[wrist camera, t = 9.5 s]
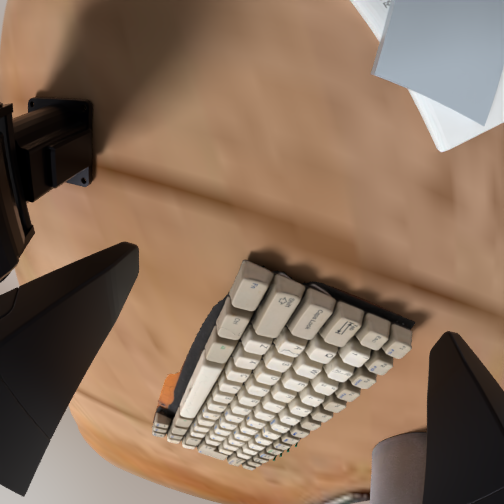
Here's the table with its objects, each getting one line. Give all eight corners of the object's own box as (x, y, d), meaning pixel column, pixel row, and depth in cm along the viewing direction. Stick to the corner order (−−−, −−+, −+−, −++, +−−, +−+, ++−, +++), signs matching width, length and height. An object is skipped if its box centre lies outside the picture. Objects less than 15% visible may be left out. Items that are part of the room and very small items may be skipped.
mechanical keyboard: (207, 227, 23) (191, 254, 20) (428, 317, 24) (436, 348, 21) (154, 420, 45) (146, 437, 42) (265, 457, 45) (262, 475, 43)
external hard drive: (433, 146, 17) (320, -33, 12) (527, 99, 13) (429, -74, 8) (442, 153, 15) (320, -41, 11) (540, 104, 11) (437, -82, 7)
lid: (370, 74, 14) (374, 74, 13) (408, -76, 8) (413, -83, 7) (475, 121, 14) (484, 126, 13) (510, -21, 8) (520, -23, 7)
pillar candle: (446, 442, 34) (450, 533, 22) (390, 462, 39) (386, 547, 27) (421, 424, 32) (424, 533, 20) (358, 446, 37) (349, 545, 25)
